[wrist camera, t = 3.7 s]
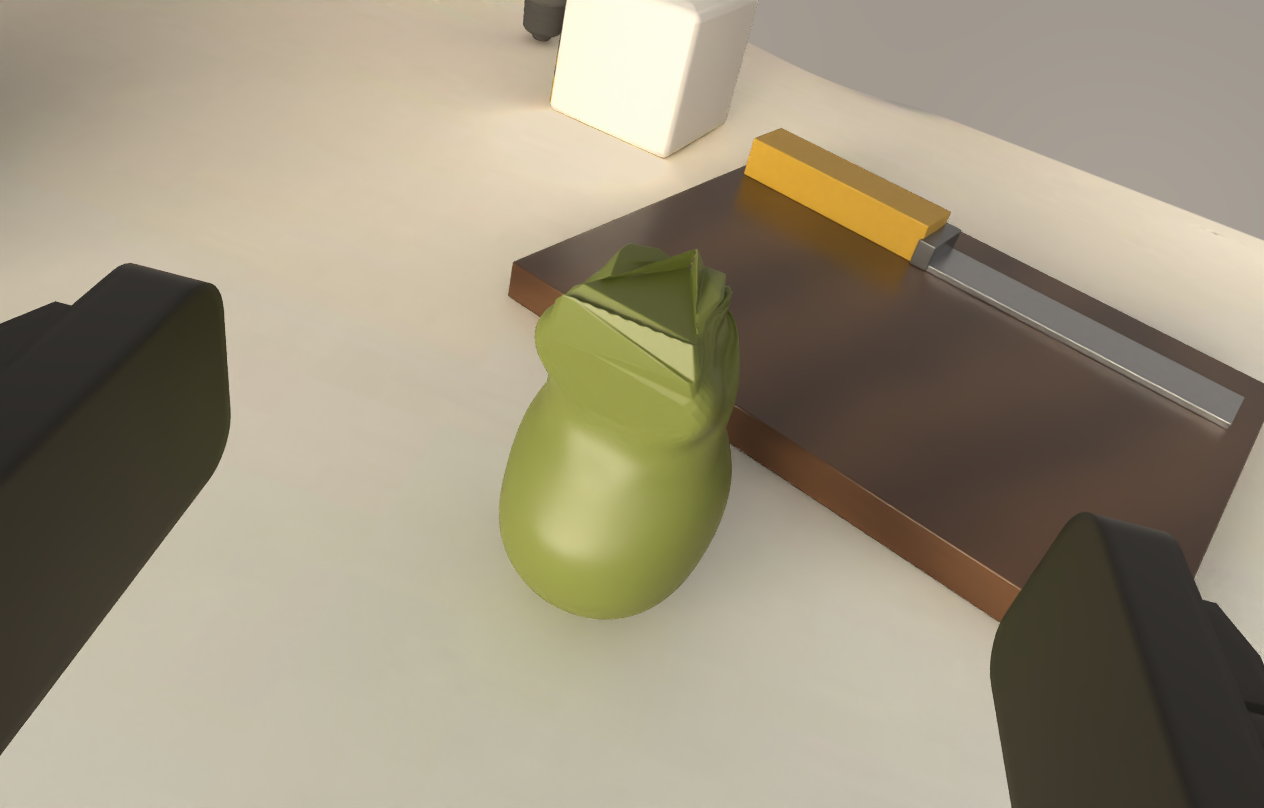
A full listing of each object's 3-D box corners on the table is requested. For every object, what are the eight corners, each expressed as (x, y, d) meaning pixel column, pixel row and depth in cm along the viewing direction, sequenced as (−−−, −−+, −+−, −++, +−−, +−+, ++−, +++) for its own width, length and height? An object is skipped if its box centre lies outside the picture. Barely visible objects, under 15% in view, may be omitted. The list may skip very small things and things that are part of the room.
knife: (740, 174, 46) (751, 138, 44) (772, 161, 47) (783, 126, 46) (1226, 431, 37) (1255, 394, 36) (1240, 402, 39) (1268, 366, 38)
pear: (718, 571, 28) (832, 275, 22) (625, 699, 24) (733, 382, 18) (556, 479, 30) (621, 178, 24) (445, 584, 26) (487, 257, 20)
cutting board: (507, 295, 37) (512, 261, 36) (782, 173, 50) (791, 145, 49) (1124, 706, 27) (1152, 673, 26) (1256, 417, 41) (1278, 389, 40)
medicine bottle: (616, 78, 56) (663, -158, 48) (726, 125, 54) (792, -114, 46) (545, 108, 51) (586, -151, 43) (664, 162, 48) (728, -101, 41)
